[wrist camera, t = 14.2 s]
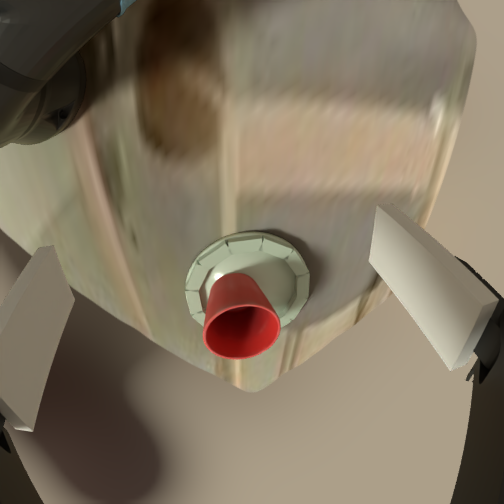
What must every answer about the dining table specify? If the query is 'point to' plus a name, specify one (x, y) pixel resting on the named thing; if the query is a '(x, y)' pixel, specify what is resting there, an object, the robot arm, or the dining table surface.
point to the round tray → (251, 272)
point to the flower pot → (239, 318)
